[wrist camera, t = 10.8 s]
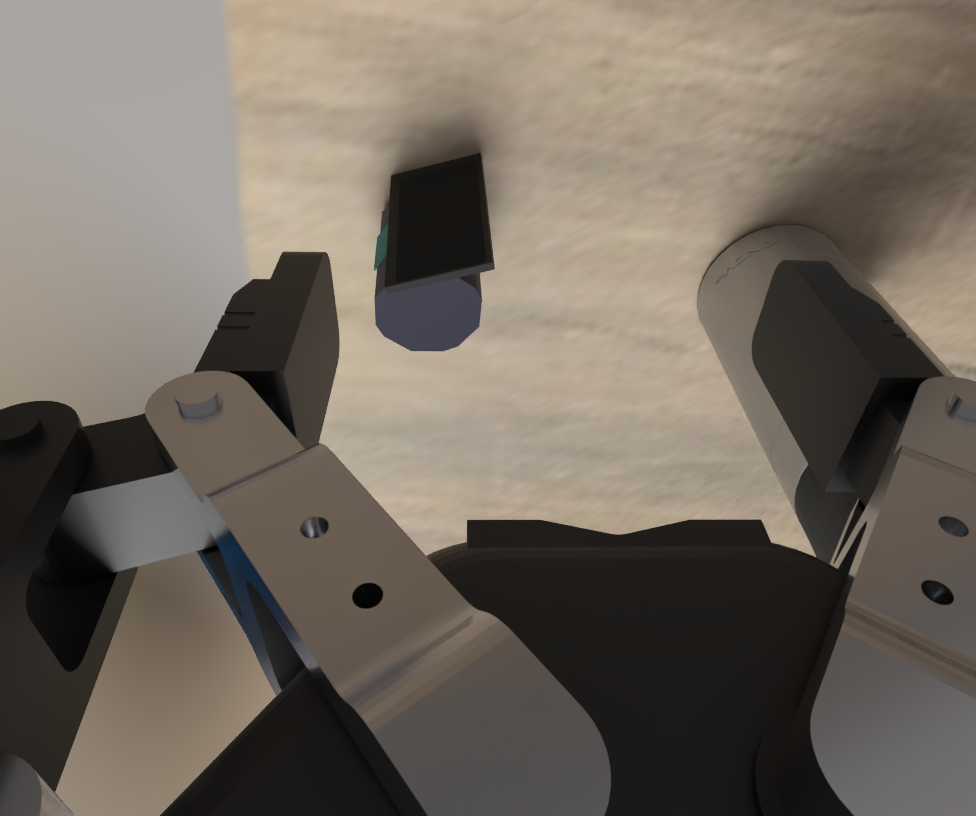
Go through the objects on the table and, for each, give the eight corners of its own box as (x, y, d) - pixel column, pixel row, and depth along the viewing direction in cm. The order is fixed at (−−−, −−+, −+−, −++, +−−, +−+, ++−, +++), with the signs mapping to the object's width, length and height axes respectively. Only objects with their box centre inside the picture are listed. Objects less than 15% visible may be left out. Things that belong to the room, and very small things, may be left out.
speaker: (379, 143, 38) (369, 246, 31) (483, 152, 39) (497, 255, 31) (378, 260, 43) (369, 371, 36) (469, 266, 44) (478, 376, 37)
